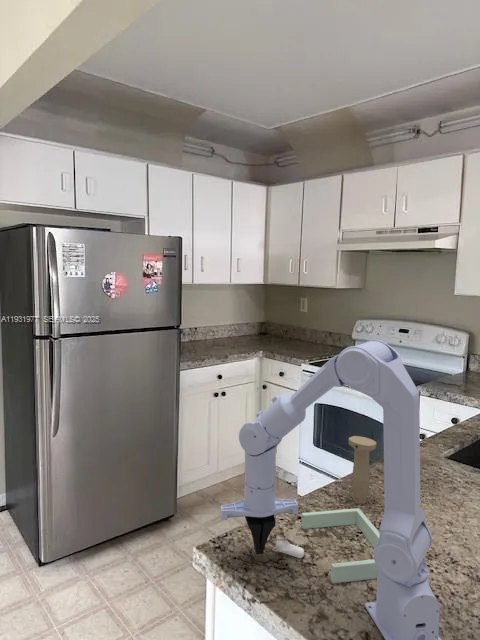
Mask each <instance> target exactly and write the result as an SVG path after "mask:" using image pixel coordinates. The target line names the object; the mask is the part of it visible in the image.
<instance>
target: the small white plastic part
mask: <svg viewBox="0 0 480 640" xmlns="http://www.w3.org/2000/svg"><path fill="white" fill-rule="evenodd" d="M274 550H277V552H281V553H283V554H286V555H289V556H291V557H295V558H297V559H302V558H303V557H304V556H305V555H306V556H307V554H305V549H304V548H303V547H300V546H297V545H294V544H291V543H289V541H288V540H283V541H282V540H276V542H275V546H274Z"/></svg>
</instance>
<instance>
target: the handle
mask: <svg viewBox="0 0 480 640" xmlns="http://www.w3.org/2000/svg"><path fill="white" fill-rule="evenodd" d="M348 445H349V446H350V447H351V448H353V451H354V455H353V456H354V457H353V466H352V473H351V475H352V476H351V478H352V479H351V487H352V488H351V491H352V501H354V503H355V504H360V505H365V504H367V502H368V495H369V490H370V453H371V452H373V451H374V450H376V449H377V441H375V440H374V439H372V438H369V437H365V436H359V435H353V436H350V437H348Z"/></svg>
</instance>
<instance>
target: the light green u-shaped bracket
mask: <svg viewBox="0 0 480 640" xmlns="http://www.w3.org/2000/svg"><path fill="white" fill-rule="evenodd" d="M350 525H356V527H358V528H359V530H360V532H362V534H363V536H365V538H366V539H367V540H368V541H369V543H370V544H371V545H372V547H373V549H374V548H375V546H376V544H377V543H378V540H379V536H380V532H379V530H378V529H377V528H376V527H375V525H374V524H373V523H372V522H371V520H370V519H369V517H367V516H366V515H365V514H364V513H363V511H362V510H361V509H360V508H359V507H358V508H349V509H348V508H347V509H344V508H343V509H336V510H335V509H334V510H322V511H311V512H301V526H300V527H301V528H302V529H303V530H307V529H315V528H316V529H318V528H327V527H328V528H330V527H340V526H350ZM330 566H331V567H330V581H331V583H332V584H340V583H341V584H342V583H348V582H357V581H366V580H367V581H368V580H375V579H377V575H378V567H377V565H376V563H375V560H374V558H373V559H365V560H363V559H362V560H356V561H354V560H353V561H343V562H336V563H331V565H330Z"/></svg>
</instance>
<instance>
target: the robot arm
mask: <svg viewBox="0 0 480 640" xmlns="http://www.w3.org/2000/svg"><path fill="white" fill-rule="evenodd" d="M345 385H346V386H348V387H349V388H352V389H353V390H355V391H356V392H360V393H362V394H363V395H366V396H368V397H370V398H371V399H372V400H373V401H375V403H377V404H378V405H379V406H380V407H381V408H382V410H383V411H382V412H383V413H382V414H383V415H382V416H383V417H382V418H383V420H382V424H383V428H382V429H383V479H384V480H383V481H384V483H383V484H384V486H383V487H384V489H383V490H384V491H383V492H384V494H383V495H384V496H383V497H384V498H383V499H384V509H383V515H382V518H381V523H380V525H379V530H378V532H379V533H380V536H379V540H378V543H377V544H376V546H375V548H374V547H373V553H372V555H373V559H374V560H375V563H376V565H377V567H378V575H377V578H376V579H377V580H376V600H375V601H373V602H372V601H371V602H366V603H365V604H364V605H365V609H366V610H367V612H368V613H369V615H370V617H371V618H372V620H373V623H375V625H376V627H377V628H378V630H379V632H380V634H381V636H382V637H383V638H384V640H442V638H441V636H439V630H440V616H441V615H440V614H441V609H440V608H441V607H440V603H439V600H438V599H437V598H436V596H435V595H434V593H433V591H432V588H431V586H430V582H429V569H428V565H427V561H426V559H425V556H426V554H427V552H428V551H429V549H430V548H431V546H432V544H433V536H432V532H431V530H430V528H429V526H428V524H427V520H426V518H427V517H426V511H425V510H424V509H422V507H421V435H420V434H421V432H420V430H421V429H420V428H421V426H420V423H421V422H420V420H421V419H420V417H421V415H420V411H421V409H420V405H421V404H420V393H419V390H418V388H417V386H416V384H415V382H414V381H413V379H412V378H411V376H410V375H409V373H408V370H407V369H406V367H405V365H404V364H403V361H402V356H401V354H400V352H398V351H397V350H396V349H394V348H393V347H392V346H391V345H389V344H388V343H387V342H385V341H383V340H380V339H370V340H366V341H364V342H363V343H361V344H357V345H352V346H347V347H346V348H344V349H343V350H342V351H341V352H340V353H339V354H337V355H334V356H332V358H330V359H329V360H328V361H327V362H325V363H324V364H323V365H322V366H320V368H319V369H318V370H317V371H316V372H315V373H313V375H311V376H310V378H309V379H308V380H307V381H305V382H304V384H303V385H302V386H300V387H299V388H298V389H297V390H296V391H295V392H294V393H292V394H290V393H283V394H277V395H275V396H274V397H273V398H271V402H272V403H271V404H269V406H267V408H265V410H261V411H258V412H257V413H256V415H255V416H256V418H255V420H253V421H249V422H246V423H244V424H243V426H242V427H241V428H240V430H239V432H238V433H239V434H238V440H239V444H240V446H241V448H242V450H244V494H243V496H244V497H243V498H244V499H243V500H239V501H235V502H231V503H227V504H222V505H220V512H219V513H220V519H221V521H227V520H228V519H232V518H239V517H240V518H241V517H242V518H243V517H244V518H245V521H246V524H247V526H248V528H249V531H250V533H251V537H252V540H253V549H254V553H255V554H256V555H263V554H264V553H265V547H266V544H267V542H268V539H269V537H270V534H271V532H272V531H273V529H274V528H275V527H276V523H277V522H276V518H275V515H277V514H278V515H280V514H290V513H291V514H292V515H299V503H298V502H297V500H296V499H295V498H294V499H284V498H276V470H277V469H276V468H277V467H276V465H277V464H276V463H277V462H276V461H277V457H276V456H277V453H278V452H277V451H278V446H279V444H280V443H281V442H282V440H283V438H284V437H286V435H288V434H289V433H290V432H292V431H293V430H294V429H295V428H296V427H297V426H299V425H300V424H301V423H302V422H304V420H305V419H306V417H307V416H306V410H307V408H309V407H310V406H311V405H313V403H315V402H316V401H318V400H319V399H320V398H322V397H323V396H324V395H326V393H327V392H329V391H330V390H332V389H333V388H336V387H337V388H340V387H341V388H342V387H343V386H345Z"/></svg>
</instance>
